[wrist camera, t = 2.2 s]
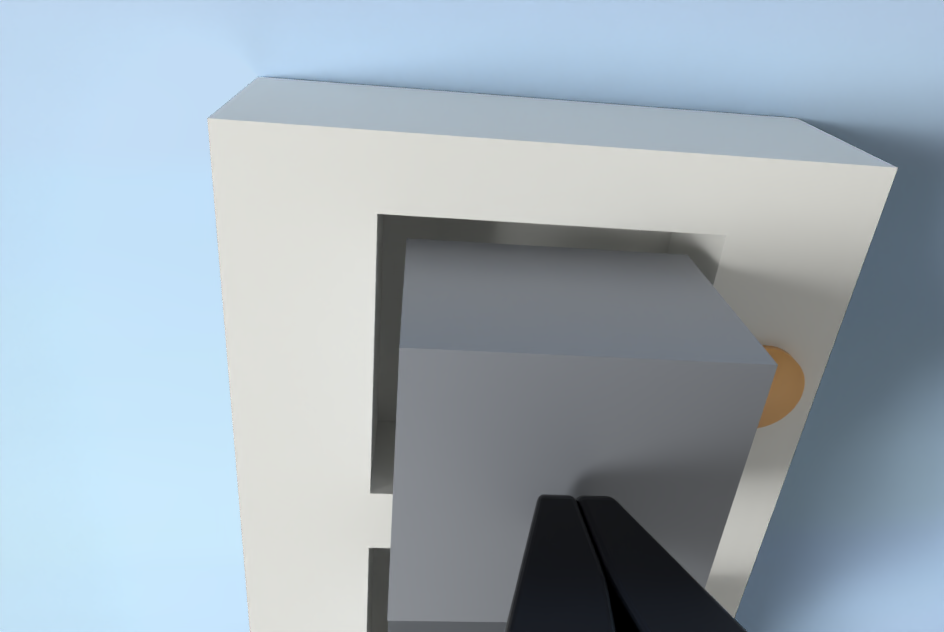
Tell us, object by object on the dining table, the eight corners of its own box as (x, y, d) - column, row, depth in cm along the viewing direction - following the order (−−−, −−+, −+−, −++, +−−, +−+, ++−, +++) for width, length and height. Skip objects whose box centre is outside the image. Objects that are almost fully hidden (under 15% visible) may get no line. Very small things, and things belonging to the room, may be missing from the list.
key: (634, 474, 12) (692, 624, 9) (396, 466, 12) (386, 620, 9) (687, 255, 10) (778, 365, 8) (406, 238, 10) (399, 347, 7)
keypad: (606, 776, 21) (634, 906, 18) (292, 778, 20) (271, 915, 17) (796, 117, 12) (906, 172, 9) (257, 76, 12) (203, 122, 9)
